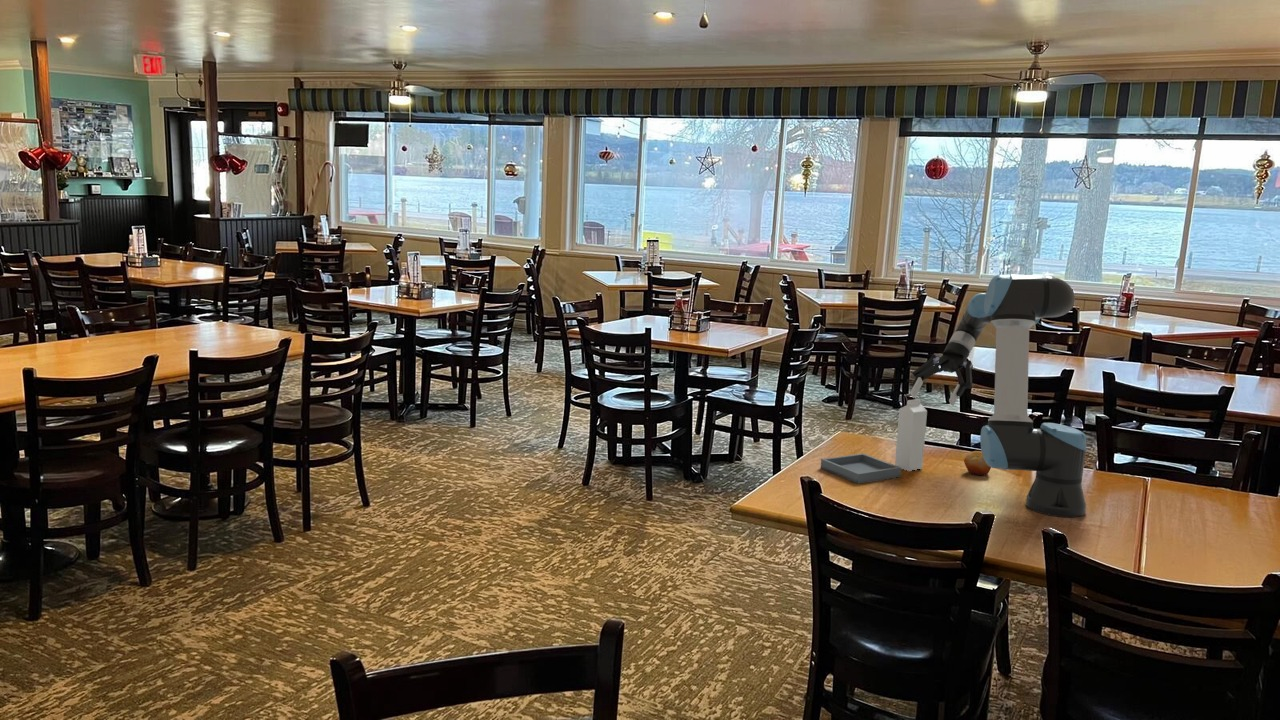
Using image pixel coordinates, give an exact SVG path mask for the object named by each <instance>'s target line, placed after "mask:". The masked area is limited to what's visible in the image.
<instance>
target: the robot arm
mask: <svg viewBox="0 0 1280 720" xmlns="http://www.w3.org/2000/svg"><path fill="white" fill-rule="evenodd" d="M1074 292H1075V291H1074V290H1073V288H1072V287H1071V285H1070V284H1068V283H1067V282H1066V281H1065V280H1063V279H1061V278H1059V277H1055V276H1051V275H1035V274H1034V275H1033V274H1015V273H1009V274H996V275H994V276H993V277H992V278H991V279H990V281H989V283H988V286H987V288H986V291H985V292H984V293H983V292H981V293H977V294H975V295H973V296H972V298H971V299H970V300H969V302H968V304H967V306H966V309H965V311H964V313H963V315H962V316H961V317H962V318H961V319H960V321H959V323H958V325H957V327H956V328H955V331H954V332H953V333H952V335H951V337H950V339H949V341H948V343H947V345H946V346H945V348H944V350H943V353H942V355H941V356H940V357H939V356H936V354H932V355H931V356H930V358H929V359H928V360H926V361H925V362H924V363H923V364H922V365H920V366H919V367H918V368H917V369H915V370H914V371H913V372H912V376H913V378H914V380H913V382H912V389H911V390H910V392H909V393H910V396H911V397H912V398H913V399H916V396H917V395H918V393H919V391H920V389H922V388H921V387H922V386H923V384H924V381H925V380H926V379H928V378H930V377H931V376H934V375H935V374H938V373H942V372H944V373H950V374H953V373H955V374H956V377H957V379H958V381H959V384H958V383H957V384H956V386H955V388H954V389H953V392H952V394H951V395H950V397H949V399H948V401H949V404H950V406H952V407H953V406H954V405H956V402H957V400H958V399H959V397H960V398H961V397H962V396H963V394H964V392H965V390H966V389H969V390H972V389H973V388H974V387H973V376H972V374H973V373H972V370H973V367H974V365H973V362H972V361H971V360H969V359H968V358H969V356H970V353H971V352H972V350H973V348H974V347H975V345H976V343H977V341H978V339H979V337H980V335H981V333H982V332H983V330H984V329H985V327H986V325H987V324H991V325H993V327H995V329H996V330H995V332H996V333H995V361H994V362H995V365H994V370H995V371H994V400H993V401H994V402H993V405H994V406H993V415H991V416H990V417H989V418H988V419H987V424H986V425H983V426H982V427H981V429H980V437H979V438H980V439H979V440H980V441H979V442H980V449H981V450H980V451H982V455H983V458H984V460H985V462H986V464H987V465H988V466H989V467H991V469H999V470H1003V471H1006V470H1013V471H1014V470H1015V471H1028V472H1029V471H1032V472H1034V471H1035V472H1036V473H1035V479H1034V480H1033V482H1032V485H1031V487H1030V489H1029V492H1028V494H1027V495H1026V499H1025V505H1026V507H1028V508H1029V509H1030V510H1032V511H1034V512H1038V513H1040V514H1044V515H1047V516H1053V517H1062V518H1076V517H1081V516H1084V515H1085V514H1086V511H1087V504H1086V501H1085V494H1084V491H1083V490H1084V489H1083V485H1082V483H1083V475H1084V474H1083V473H1084V466H1085V465H1084V464H1085V459H1086V451H1087V435H1086V434H1085V433H1084V432H1083V431H1081V430H1079V429H1077V428H1074V427H1071V426H1068V425H1064V424H1061V423H1060V424H1059V423H1055V422H1043V423H1041V425H1040V428H1034V421H1033V420H1032V418H1030V417H1029V415H1028V403H1029V402H1028V399H1029V396H1028V394H1029V392H1028V391H1029V361H1030V360H1029V357H1030V354H1029V353H1030V351H1029V350H1030V329H1031V328H1032V327H1034V326H1035V325H1038V323H1039V322H1040V320H1041V319H1044V318H1059V317H1062V316H1064V315H1067V314H1068V313H1069V312H1070V311H1071V310H1072V309H1073V307H1074V306H1075V300H1076V296H1075V293H1074ZM967 359H968V360H967ZM963 367H964V368H965V377H966V378H965V380H966V381H964V379H963V376H962V374H961V371H960V369H962V368H963Z"/></svg>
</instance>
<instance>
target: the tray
mask: <svg viewBox="0 0 1280 720" xmlns="http://www.w3.org/2000/svg"><path fill="white" fill-rule="evenodd" d="M820 469H821V470H824V471H826V472H828V473H830V474H834V475H836V476H838V477H840V478H842V477H843V478H842V479H845V480H847V481H849V480H850V481H849V482H852V483H854V484H857V485H861V484H866V482H867V483H871V482H872V481H873V482H879V481H885V479H886V480H890V478H892V479H897V478H896V477H899V478H901V475H902V469H901V467H898V466H896V465H895V464H892V463H890V462H887V461H885V460H882V459H879V458H877V457H874V456H871V455H869V454H866V453H858V454H857V453H856V454H850V455H849V454H848V455H843V456H842V455H841V456H833V457H826V458H821V459H820Z"/></svg>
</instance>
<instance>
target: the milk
mask: <svg viewBox="0 0 1280 720" xmlns="http://www.w3.org/2000/svg"><path fill="white" fill-rule="evenodd" d="M921 401H922V400H921V398H914V399H908V400H907V402H906V405H905V406H902V407H900V408H899V409H898V410H899V411H898V422H897V423H898V424H897V432H896V433H897V435H896V447H895V457H894V459H895V460H894V465H896V466H898V467H901V470H903V469H904V470H903V471H906V470H907V472H913V471H912V470H915V471H918V470H917V469H920V470H922V469H923V464H924V452H925V441H926V439H925V438H926V430H927V429H926V428H927V427H926V426H927V416H928V410H927V409H926V408H925V407H924V406H923V405H922V403H921Z"/></svg>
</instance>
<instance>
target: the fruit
mask: <svg viewBox="0 0 1280 720" xmlns="http://www.w3.org/2000/svg"><path fill="white" fill-rule="evenodd" d="M963 462H964V466H965V467H966V469H967V472H968V473H969V474H970V473H971V475H975V474H976V475H978V476H987V475H988V474H989V473H990V471H991V469H992V468H991V467H989V466H988V465H987V464H986V462H985V460H984V458H983V455H982V450H974V451H971V452H969V453H968V454H966V456H965V457H964V459H963Z"/></svg>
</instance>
